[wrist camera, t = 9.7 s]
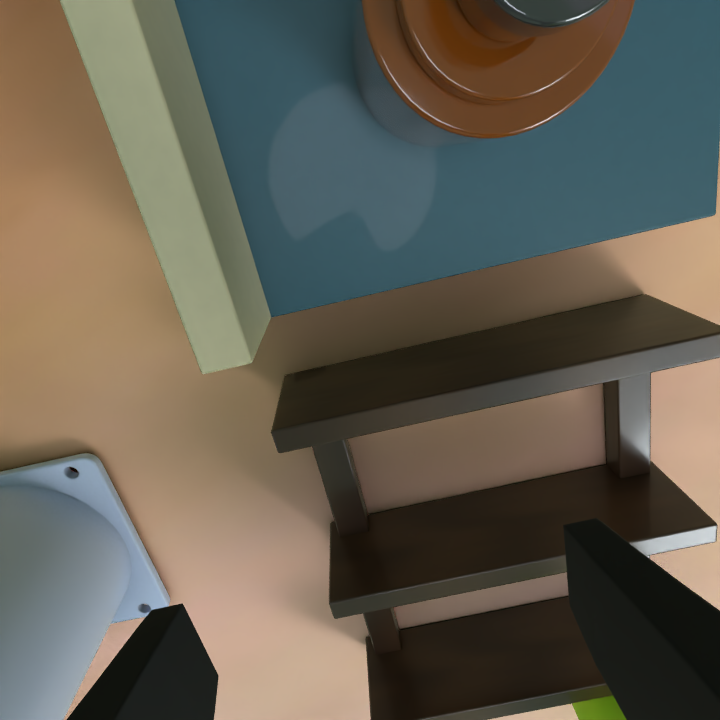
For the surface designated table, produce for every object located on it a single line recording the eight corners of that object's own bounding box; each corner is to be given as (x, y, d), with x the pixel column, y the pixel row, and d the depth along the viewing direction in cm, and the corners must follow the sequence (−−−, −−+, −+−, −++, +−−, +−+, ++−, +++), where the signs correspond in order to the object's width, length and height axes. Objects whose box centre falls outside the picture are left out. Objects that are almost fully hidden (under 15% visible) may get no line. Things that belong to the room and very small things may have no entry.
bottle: (371, 164, 13) (408, 166, 6) (332, -30, 11) (326, -305, 5) (531, 126, 13) (744, 85, 6) (514, -76, 11) (781, -435, 4)
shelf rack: (368, 648, 23) (375, 741, 19) (284, 374, 18) (270, 431, 14) (646, 592, 22) (707, 678, 19) (646, 293, 17) (732, 329, 13)
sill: (246, 304, 17) (201, 376, 11) (114, -106, 12) (-67, -324, 7) (661, 208, 16) (835, 232, 10) (667, -256, 12) (960, -627, 6)
